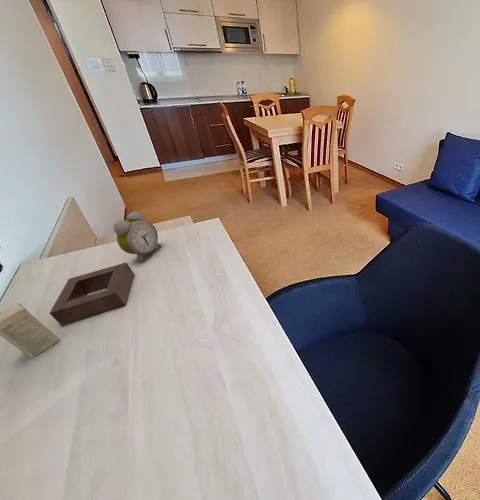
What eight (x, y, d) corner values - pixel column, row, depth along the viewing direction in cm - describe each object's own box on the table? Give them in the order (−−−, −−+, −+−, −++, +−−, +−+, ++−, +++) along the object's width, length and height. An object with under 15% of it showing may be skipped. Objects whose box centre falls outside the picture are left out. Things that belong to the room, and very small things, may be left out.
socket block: (61, 326, 81) (49, 313, 78) (79, 290, 93) (68, 278, 90) (125, 305, 85) (116, 292, 82) (134, 274, 97) (126, 262, 94)
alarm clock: (143, 264, 101) (119, 226, 92) (126, 264, 102) (100, 226, 94) (165, 244, 110) (145, 208, 101) (149, 244, 111) (128, 208, 103)
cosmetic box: (54, 334, 79) (19, 301, 72) (60, 340, 77) (25, 307, 70) (23, 353, 74) (-17, 320, 67) (30, 360, 72) (-11, 326, 65)
